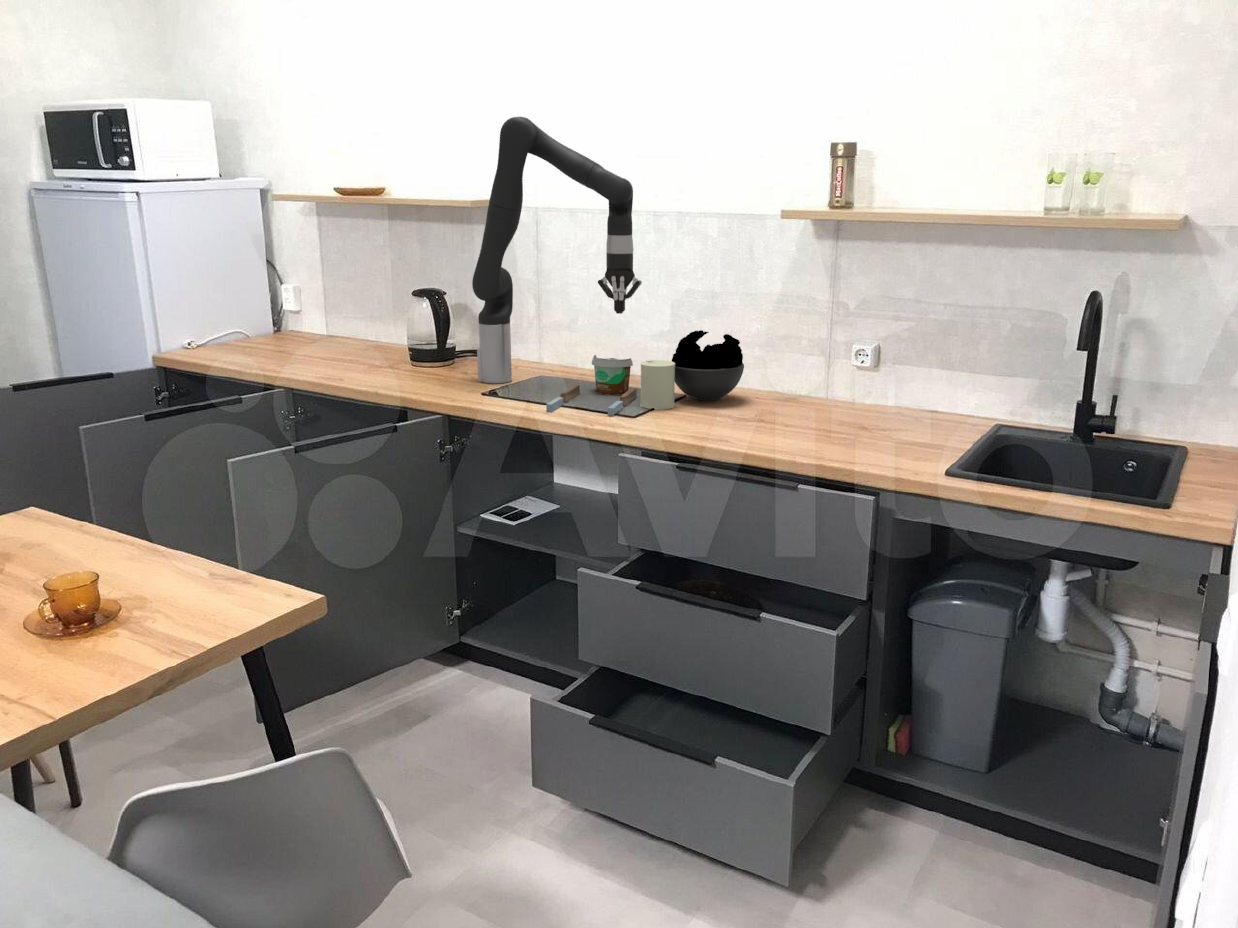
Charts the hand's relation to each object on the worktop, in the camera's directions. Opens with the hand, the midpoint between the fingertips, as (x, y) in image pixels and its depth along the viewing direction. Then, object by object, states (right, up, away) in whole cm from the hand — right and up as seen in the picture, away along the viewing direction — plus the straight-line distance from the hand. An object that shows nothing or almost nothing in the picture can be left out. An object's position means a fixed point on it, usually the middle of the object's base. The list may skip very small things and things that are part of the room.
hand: (619, 313), depth 283 cm
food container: (-3, -24, -5) cm, 24 cm away
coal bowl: (+24, -26, -13) cm, 37 cm away
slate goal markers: (-9, -29, -26) cm, 40 cm away
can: (+10, -28, -21) cm, 36 cm away
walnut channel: (-6, -26, -14) cm, 30 cm away
